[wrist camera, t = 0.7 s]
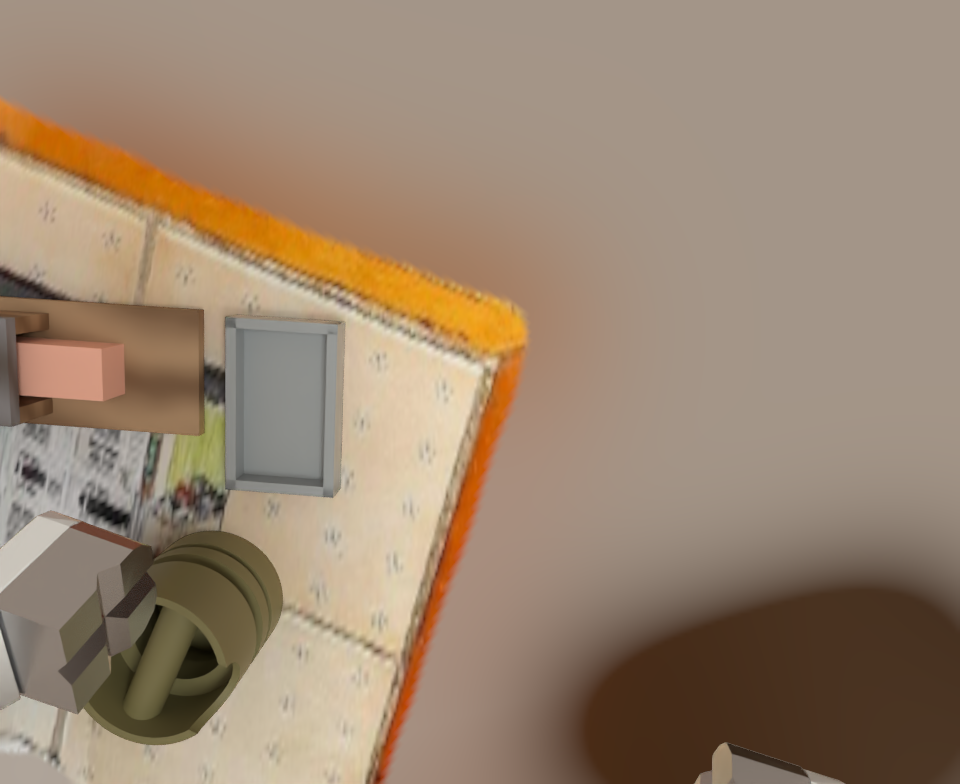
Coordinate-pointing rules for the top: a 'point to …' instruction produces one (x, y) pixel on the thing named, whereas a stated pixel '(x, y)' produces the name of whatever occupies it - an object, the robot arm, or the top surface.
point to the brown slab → (147, 360)
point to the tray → (283, 405)
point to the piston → (191, 639)
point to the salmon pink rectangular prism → (70, 369)
